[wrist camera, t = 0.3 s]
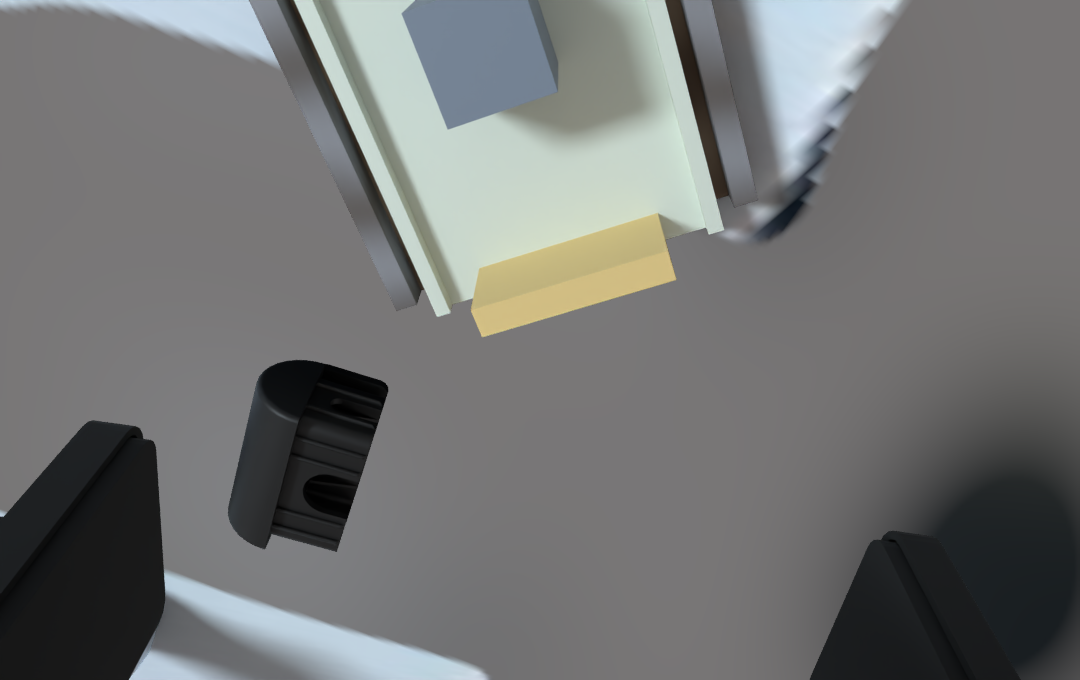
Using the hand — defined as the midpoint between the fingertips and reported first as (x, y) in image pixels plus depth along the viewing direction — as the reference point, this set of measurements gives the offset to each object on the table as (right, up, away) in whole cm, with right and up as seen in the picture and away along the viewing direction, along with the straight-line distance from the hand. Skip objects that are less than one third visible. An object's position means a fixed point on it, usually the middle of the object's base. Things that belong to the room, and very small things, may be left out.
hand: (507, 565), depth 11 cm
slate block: (-2, +18, +29) cm, 34 cm away
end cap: (-14, -2, +43) cm, 45 cm away
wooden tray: (-1, +16, +31) cm, 35 cm away
